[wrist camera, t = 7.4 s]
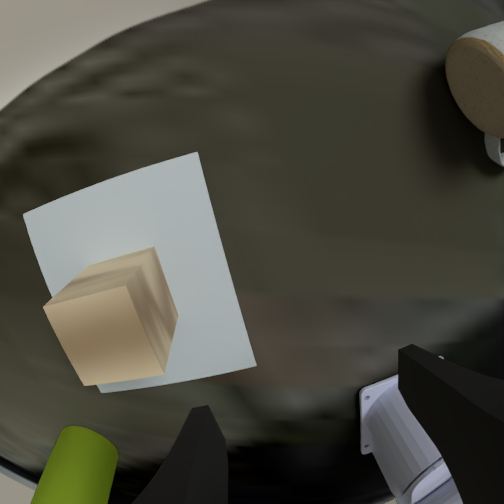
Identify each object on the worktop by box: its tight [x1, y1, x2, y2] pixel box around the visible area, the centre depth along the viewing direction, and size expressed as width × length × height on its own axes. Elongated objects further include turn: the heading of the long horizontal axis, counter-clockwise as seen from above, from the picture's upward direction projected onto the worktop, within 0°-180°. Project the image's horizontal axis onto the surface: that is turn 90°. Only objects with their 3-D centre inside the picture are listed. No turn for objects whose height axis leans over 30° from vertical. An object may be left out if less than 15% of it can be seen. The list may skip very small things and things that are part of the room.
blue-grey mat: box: [23, 152, 257, 393], centre depth 18 cm, size 14×12×1 cm
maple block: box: [43, 246, 178, 386], centre depth 15 cm, size 4×4×6 cm
